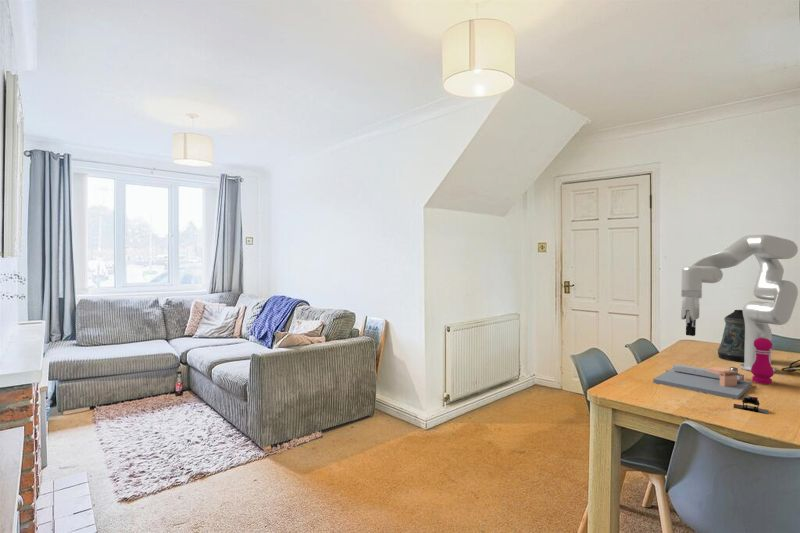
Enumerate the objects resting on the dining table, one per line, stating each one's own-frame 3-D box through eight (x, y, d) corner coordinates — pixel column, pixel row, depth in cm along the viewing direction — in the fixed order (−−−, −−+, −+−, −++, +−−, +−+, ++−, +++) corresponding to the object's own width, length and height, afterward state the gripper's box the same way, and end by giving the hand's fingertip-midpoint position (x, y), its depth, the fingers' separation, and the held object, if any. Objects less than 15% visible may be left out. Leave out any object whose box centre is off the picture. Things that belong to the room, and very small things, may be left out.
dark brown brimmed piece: (727, 409, 149) (727, 396, 149) (728, 403, 154) (729, 391, 154) (774, 418, 141) (774, 404, 140) (774, 411, 146) (775, 398, 146)
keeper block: (719, 383, 176) (719, 367, 176) (736, 389, 169) (737, 371, 169) (707, 384, 175) (707, 367, 175) (724, 390, 168) (724, 372, 168)
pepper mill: (777, 385, 175) (779, 336, 174) (757, 384, 176) (758, 335, 175) (766, 380, 182) (767, 333, 181) (746, 379, 183) (748, 332, 183)
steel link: (744, 380, 174) (744, 368, 174) (741, 383, 170) (741, 370, 170) (676, 368, 192) (676, 357, 192) (672, 371, 188) (672, 359, 188)
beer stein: (710, 357, 223) (711, 309, 222) (732, 353, 231) (734, 307, 230) (746, 364, 208) (747, 313, 207) (769, 360, 216) (770, 311, 215)
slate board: (672, 371, 195) (673, 368, 195) (751, 385, 174) (751, 381, 174) (653, 382, 178) (653, 378, 178) (737, 399, 157) (737, 395, 157)
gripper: (686, 292, 199) (685, 332, 199) (676, 294, 189) (675, 336, 189) (706, 293, 193) (705, 334, 194) (696, 296, 183) (695, 338, 184)
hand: (690, 335), depth 192 cm, fingers closed
